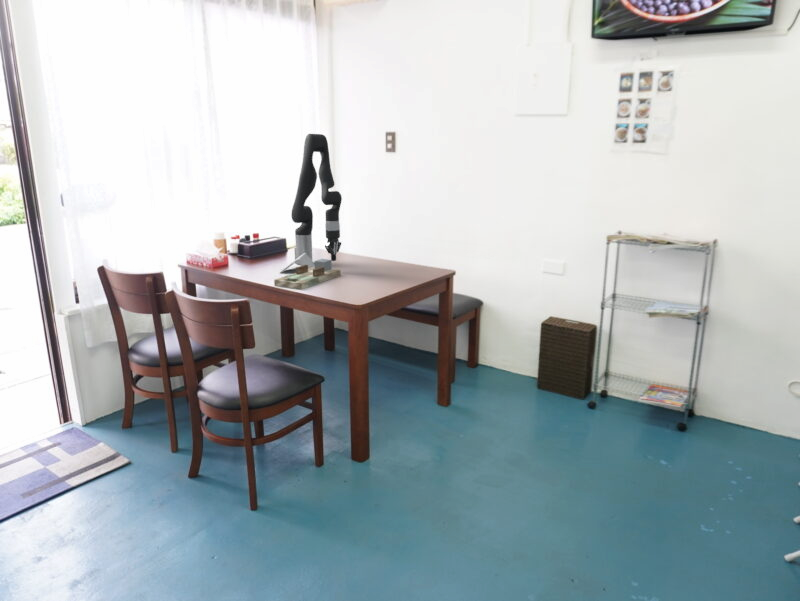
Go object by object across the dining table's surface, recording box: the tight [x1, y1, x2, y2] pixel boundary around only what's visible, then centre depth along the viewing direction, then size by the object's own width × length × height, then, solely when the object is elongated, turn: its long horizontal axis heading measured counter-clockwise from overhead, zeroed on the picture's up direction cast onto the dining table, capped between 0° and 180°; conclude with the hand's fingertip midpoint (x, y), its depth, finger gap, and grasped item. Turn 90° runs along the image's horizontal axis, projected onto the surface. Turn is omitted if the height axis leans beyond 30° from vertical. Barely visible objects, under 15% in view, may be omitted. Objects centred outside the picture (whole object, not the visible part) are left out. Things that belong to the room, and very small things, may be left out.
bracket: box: [279, 253, 315, 274], centre depth 316 cm, size 13×10×20 cm
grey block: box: [314, 258, 333, 271], centre depth 302 cm, size 6×7×5 cm
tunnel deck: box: [273, 265, 342, 290], centre depth 291 cm, size 16×35×6 cm, turn 153°
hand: (333, 260), depth 310 cm, fingers closed
